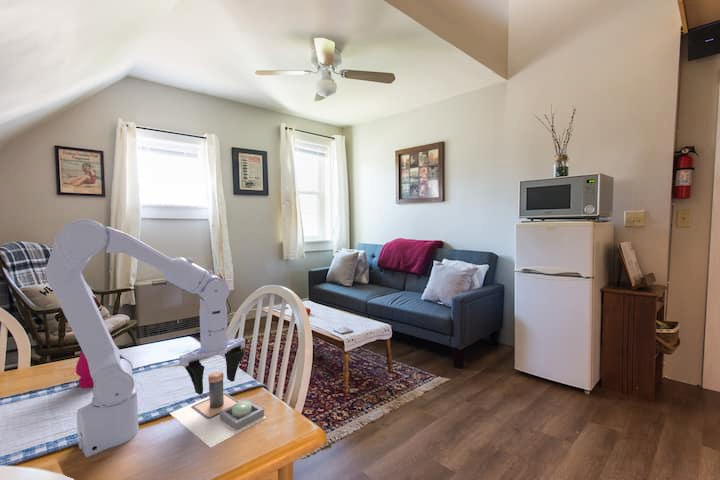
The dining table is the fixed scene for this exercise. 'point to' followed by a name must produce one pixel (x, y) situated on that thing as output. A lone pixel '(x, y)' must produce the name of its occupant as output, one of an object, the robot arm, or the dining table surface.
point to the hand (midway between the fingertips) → (215, 386)
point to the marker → (216, 390)
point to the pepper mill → (84, 372)
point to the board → (216, 419)
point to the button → (241, 409)
